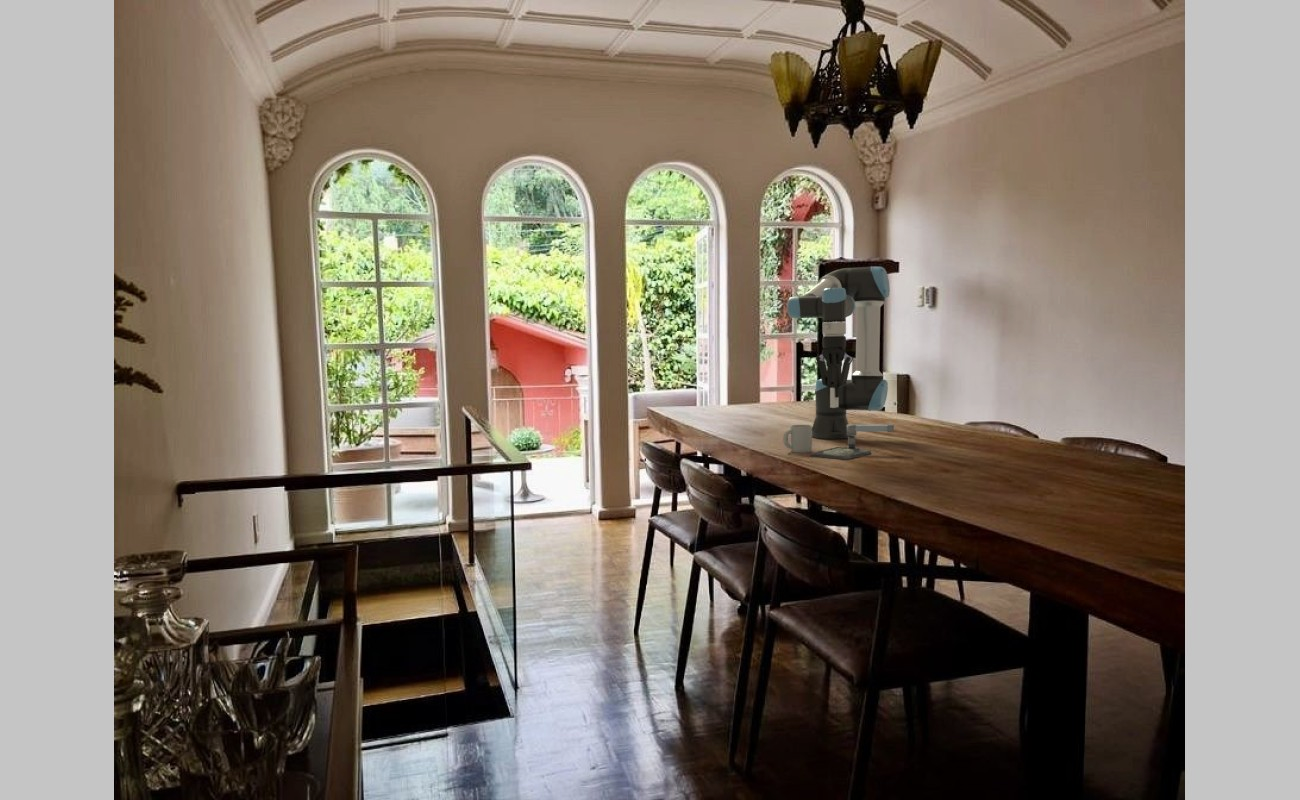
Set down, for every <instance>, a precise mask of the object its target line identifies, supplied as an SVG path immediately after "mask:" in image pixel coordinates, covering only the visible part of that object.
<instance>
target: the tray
mask: <svg viewBox="0 0 1300 800" xmlns="http://www.w3.org/2000/svg"><path fill="white" fill-rule="evenodd" d="M869 454H872V450H870V449H869V450H868V449H861V447H859V446H856V435H855V436H848V438H847V446H845V447H841V446H840V447H839V446H836V447H832V448H831V447H830V448H828V449H823V450H818V451H815V452H811V457H818V458H827V459H837V460H845V461H847V460H851V459H855V458H859V457H862V456H866V455H869Z"/></svg>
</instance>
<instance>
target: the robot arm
mask: <svg viewBox="0 0 1300 800" xmlns="http://www.w3.org/2000/svg"><path fill="white" fill-rule="evenodd" d="M888 275H889V274H888V272H887V271H886V269H885V268H884V267H883V266H860V267H845V268H840V269H836V270H833V271H830V272H829V273H827V274H825V275H823V276H822V277H821V278H819V280H818V281H817V284H816V285H815V286H813V287H812V288H811V289H809V290H808V291H807V292H806V293H804V294H803V295H801V296H799V295H795V296H790V297H789V299H788V301H787V305H786V306H787V307H786V308H787V314H788V316H789V317H790V319H799V320H800V319H817V318H818V319H819V318H820V319H821V318H822V326H821V327H822V335H824V336H822V343H821V344H822V351H821V354H820V355H819V356H815V360H816V362H817V364H818V369H819V373H820V379H818V380H816V382H815V390H814V393H815V418H814V421H813V424H812V438H816V439H823V440H824V439H826V440H834V439H835V440H840V439H848V436H849V435H847V425H850V424H849V421H848V417H847V411H864V412H865V411H867V412H872V411H874V412H875V411H881V410H882V409H883V408H884V406H885V404H886V401H887V398H888V391H889V387H888V385H889V383H888V380H886V379H884V375H883V374H882V372H881V371H880V344H881V343H880V337H881V336H880V335H881V307H882V306H883V305H884V304H885V301H886V299H887V298H889V297H890V292H891V291H890V289H891V288H890V282H889V276H888ZM855 311H856V327H855V328H856V331H855V333H856V335H855V336H856V337H855V338H856V341H855V371H854V372H853V373H851V379H848V377H849V373H850V368H851V365H852V364H851V363H852V362H853V360H854V357H853V356H850V355H848V354H847V349H846V347H847V337H846V336H845V335H846V334H847V317H850V316H852V315H853V313H855Z"/></svg>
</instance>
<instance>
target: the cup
mask: <svg viewBox="0 0 1300 800" xmlns="http://www.w3.org/2000/svg"><path fill="white" fill-rule="evenodd" d="M812 427H813V425H811V424H791V425H790V428H789V429H787V430H785V432H784V433H783V439H782V441H783V444H784V446H785V447H786V448H787V449H790V451H791V452H792V453H796V454H807V453H808V454H809V453H812V451H813V437H812ZM789 435H790V443H789Z"/></svg>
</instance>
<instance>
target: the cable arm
mask: <svg viewBox="0 0 1300 800" xmlns="http://www.w3.org/2000/svg"><path fill="white" fill-rule="evenodd" d="M857 432H887V433H895V425H894V424H892V423H886V424H849V425H847V435H849V436H855V437H856V436H857Z"/></svg>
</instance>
